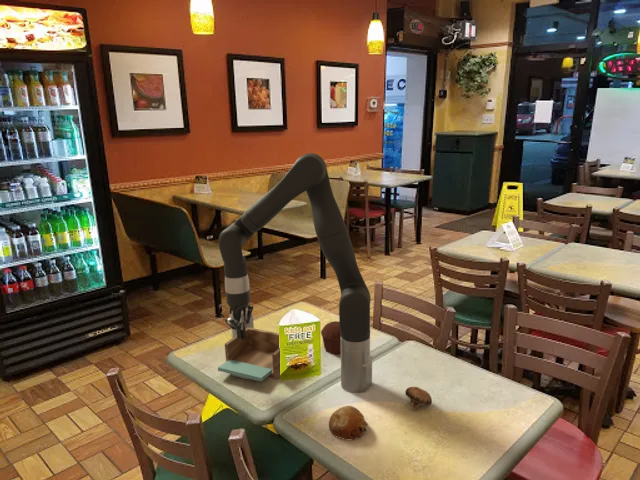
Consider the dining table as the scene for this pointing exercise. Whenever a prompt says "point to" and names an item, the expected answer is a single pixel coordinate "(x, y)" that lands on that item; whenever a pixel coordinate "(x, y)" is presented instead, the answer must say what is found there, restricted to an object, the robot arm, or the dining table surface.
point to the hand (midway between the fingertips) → (241, 338)
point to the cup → (250, 325)
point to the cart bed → (256, 350)
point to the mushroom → (418, 397)
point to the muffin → (332, 337)
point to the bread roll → (347, 423)
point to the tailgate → (245, 370)
